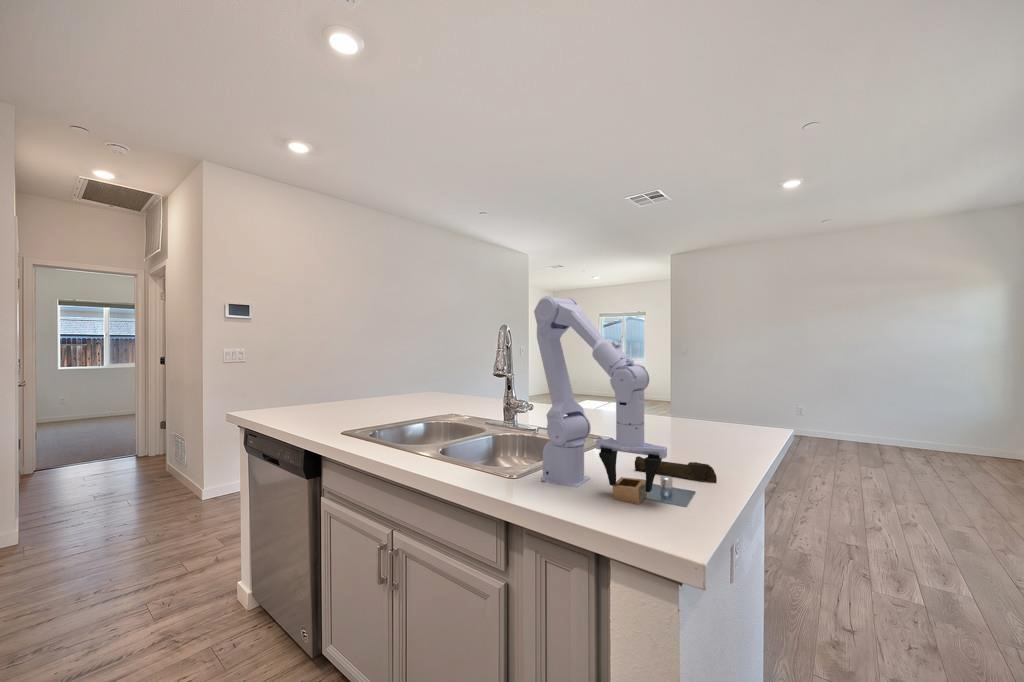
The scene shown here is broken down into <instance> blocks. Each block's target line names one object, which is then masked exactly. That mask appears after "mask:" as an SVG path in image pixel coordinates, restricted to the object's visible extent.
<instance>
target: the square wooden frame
mask: <svg viewBox="0 0 1024 682" xmlns="http://www.w3.org/2000/svg"><path fill="white" fill-rule="evenodd" d="M612 494H613V500H614V501H615V500H616V501H620V502H624V503H629V504H634V505H641V504H642V502H643V501H644V500H645V499H644V498H645V497H646V495H647V492H646V479H645V478H643V479H642V478H641V479H640V478H634V477H632V478H631V477H625V476H623V477H622V476H621V477H619V478H618V480H616V483H615V484H614V485H613V486H612Z"/></svg>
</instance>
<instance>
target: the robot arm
mask: <svg viewBox="0 0 1024 682" xmlns="http://www.w3.org/2000/svg"><path fill="white" fill-rule="evenodd" d="M533 313H534V318H535V321H536V340H537V343H538V349H539V353H540V357H541V361H542V365H543V371H544V375H545V379H546V384H547V387H548V388H547V389H548V392H549V396H550V399H551V405H552V406H551V407H550V409H549V410H548V412H547V413H546V420H547V424H546V433H547V436H548V439H549V441H547V442H546V443H545V445H544V447H543V451H542V478H541V479H540V480H541V481H542V482H547V483H553V484H557V485H562V486H563V485H564V486H569V487H573V488H579V487H580V486H582V485H583V484H585V483H587V481H589V480H590V479H591V476H589V475H588V476H587V475H585V443H586V442H587V441H586V440H587V438H588V436H590V434H591V430H592V429H591V428H592V427H591V422H590V420H589V418H588V417H587V416H586V414H585V411H584V408H583V406H582V405H581V404H579V403H578V402H577V401H576V400H575V395H574V392H573V388H572V384H571V380H570V376H569V372H568V368H567V364H566V359H565V356H564V350H563V346H562V342H561V338H562V336H563V334H564V333H566V331H568V329H570V328H571V329H573V331H574V332H576V334H577V335H579V337H580V338H581V339H582V340H583V341H584V342H585V343H586V344H587V345H588V346H589V347H591V349H592V354H591V355H592V358H593V359H594V360H595V361H596V363H597V364H598V365H599V366H600V367H601V368H602V370H603V371H604V372H605V373H606V374H607V375H608V377H609V378H610V379H609V383H610V386H611V388H612V390H613V392H614V398H615V416H616V417H615V424H616V425H615V428H616V429H615V430H616V431H615V439H609V438H608V439H606V438H598V439H596V440H595V449H596V450H600V451H599V452H598V455H599V456H598V457H599V459H600V461H601V462H602V464H603V466H604V469H605V471H606V474H607V478H608V483H609V486H611V487H613V485H614V484H615V483H616V482H617V457H618V452H619V453H620V452H621V453H626V454H627V453H628V454H637V455H640V456H642V455H643V456H645V459H644V463H645V470H646V472H645V480H646V492H650V491H651V490H652V485H653V484H654V480H655V476H656V474H657V473H656V471H657V469H658V466H659V464H660V462H661V461H662V460H663V459H666V458H667V457H668V447H667V446H662V445H661V446H660V445H656V444H652V443H649V442H648V443H647V442H645V390H646V389H647V388H648V387H649V384H650V375H649V373H648V370H647V369H646V368H645V366H643V365H642V364H638V363H634V362H635V360H634V359H633V358H631V357H629V356H628V355H627V354H626V353H625V352H624V350H623V349H622V348H620V346H621V344H620V343H619V341H617V340H615V341H614V340H613V339H611V338H610V339H607V338H606V339H605V338H604V336H603V335H602V334H601V332H599V330H598V329H597V328H596V326H595V325H594V324H593V322H592V321H591V320H590V319H589V317H588V316H587V315H586V313H585V312H584V308H583V306H581V305H580V304H578V301H576V300H575V299H574V298H560V297H552V296H548V295H547V296H543V297H542V298H540V299H539V300H538V303H537V305H536V306H535V308H534V310H533ZM541 481H540V482H541Z"/></svg>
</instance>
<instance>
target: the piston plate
mask: <svg viewBox="0 0 1024 682" xmlns="http://www.w3.org/2000/svg"><path fill="white" fill-rule="evenodd" d="M659 477H660V479H659V480H660V484H656V483H653V485H652V490H651V491H650V492H647V495H646V497H645V498H644V499H643V500H647V501H652V502H656V503H662V504H667V505H673V506H678V507H682V508H687V507H688V506H689V505H690V502H691V501H692V499H693V498H694V496H695V494H696V490H689V489H684V488H683V489H682V488H679V487H673V476H669V475H660V476H659Z"/></svg>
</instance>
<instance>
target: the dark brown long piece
mask: <svg viewBox="0 0 1024 682" xmlns="http://www.w3.org/2000/svg"><path fill="white" fill-rule="evenodd" d="M645 458H646V457H645ZM645 458H644V457H642V456H641V455H640V456H637V455H636V457H635V460H634V469H635V472H642V473H643V472H645V473H646V470H645V463H644V459H645ZM656 474H658V475H662V476H670V477H676V478H683V479H686V480H689V481H693V482H694V481H695V482H701V483H710V484H711V483H713V484H717V474H716V472H715V469H714V468H713V466H711V465H710V464H708V463H702V462H694V461H690V462H688V463H687V464H686V463H685V464H684V463H679V462H671V461H662V460H661V462H660V464H659V466H658V469H657V471H656Z"/></svg>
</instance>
